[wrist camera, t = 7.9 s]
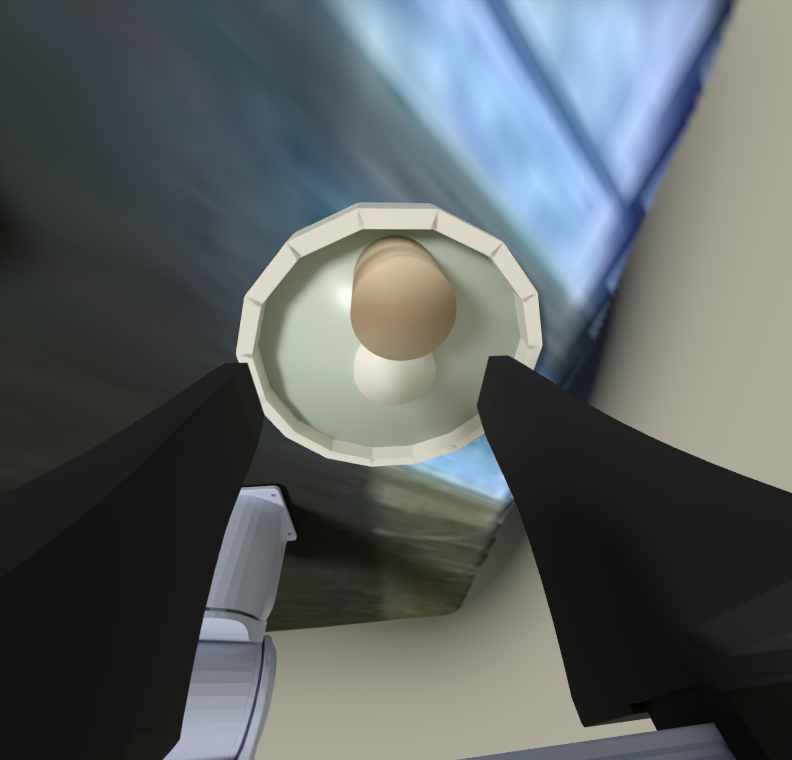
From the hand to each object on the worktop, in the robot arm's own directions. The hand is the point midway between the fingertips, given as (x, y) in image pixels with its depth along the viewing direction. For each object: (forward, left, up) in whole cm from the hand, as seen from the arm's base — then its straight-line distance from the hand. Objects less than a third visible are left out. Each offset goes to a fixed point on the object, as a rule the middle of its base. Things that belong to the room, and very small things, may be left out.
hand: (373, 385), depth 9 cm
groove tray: (-5, -1, -9) cm, 11 cm away
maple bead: (0, -1, -8) cm, 9 cm away
